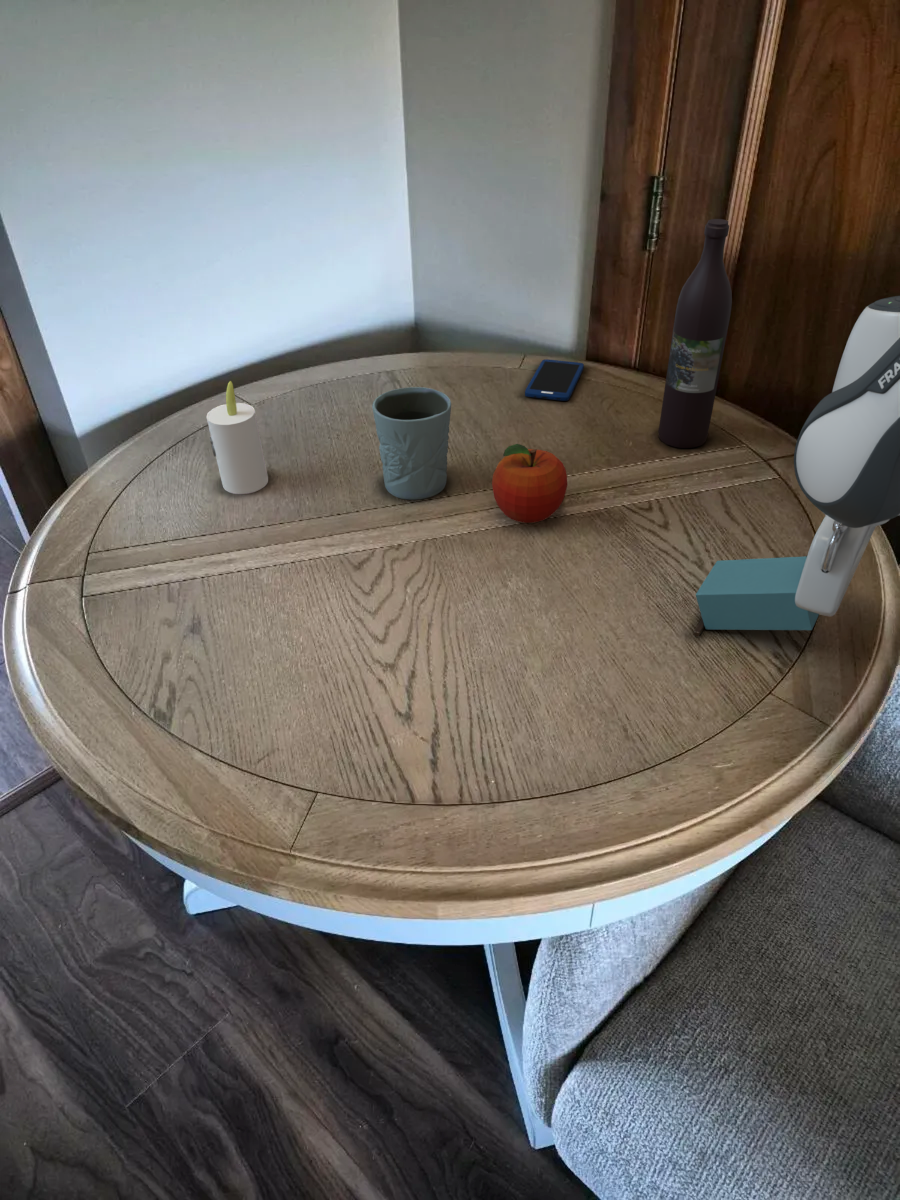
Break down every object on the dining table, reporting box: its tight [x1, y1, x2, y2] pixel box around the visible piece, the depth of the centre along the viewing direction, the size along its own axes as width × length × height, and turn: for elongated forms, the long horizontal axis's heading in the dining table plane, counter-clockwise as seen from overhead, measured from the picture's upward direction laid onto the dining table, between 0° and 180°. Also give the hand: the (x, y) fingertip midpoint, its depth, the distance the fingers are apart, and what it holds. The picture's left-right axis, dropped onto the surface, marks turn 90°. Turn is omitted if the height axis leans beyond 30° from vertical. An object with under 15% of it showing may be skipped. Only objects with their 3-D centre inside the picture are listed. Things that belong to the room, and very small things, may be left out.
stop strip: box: [692, 618, 705, 638], centre depth 91 cm, size 1×10×1 cm, turn 147°
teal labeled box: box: [695, 555, 820, 631], centre depth 86 cm, size 11×7×4 cm, turn 57°
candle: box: [206, 380, 269, 495], centre depth 110 cm, size 6×6×15 cm
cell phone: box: [524, 359, 585, 402], centre depth 137 cm, size 7×14×1 cm, turn 162°
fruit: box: [491, 443, 568, 524], centre depth 104 cm, size 10×10×10 cm
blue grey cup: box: [371, 386, 452, 501], centre depth 110 cm, size 10×10×12 cm
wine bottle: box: [657, 218, 733, 449], centre depth 112 cm, size 7×7×30 cm
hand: (827, 598), depth 83 cm, fingers closed, pressing on teal labeled box
